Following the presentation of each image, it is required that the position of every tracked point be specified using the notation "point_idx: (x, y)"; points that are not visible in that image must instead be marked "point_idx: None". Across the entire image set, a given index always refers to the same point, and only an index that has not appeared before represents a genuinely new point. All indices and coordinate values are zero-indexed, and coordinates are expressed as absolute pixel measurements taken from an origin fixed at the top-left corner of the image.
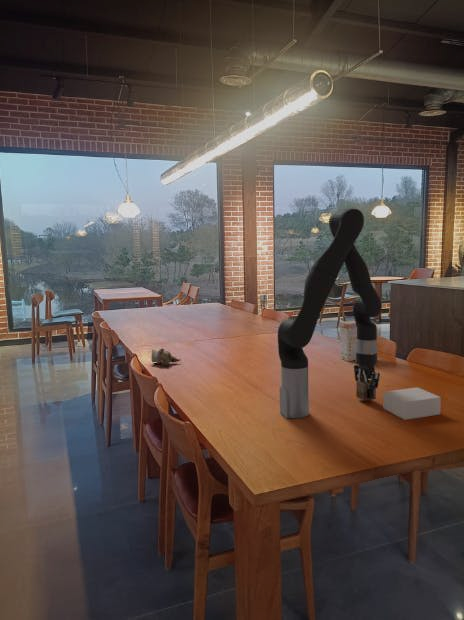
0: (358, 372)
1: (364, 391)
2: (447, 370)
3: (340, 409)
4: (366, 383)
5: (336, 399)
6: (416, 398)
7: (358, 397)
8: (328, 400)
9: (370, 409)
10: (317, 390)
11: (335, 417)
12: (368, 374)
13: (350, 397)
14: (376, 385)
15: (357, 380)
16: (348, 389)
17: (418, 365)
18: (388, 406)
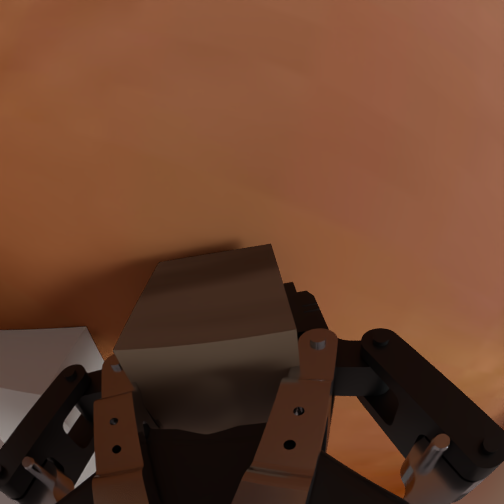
0: (409, 428)
1: (139, 309)
2: None
3: (90, 57)
4: (160, 389)
5: (317, 87)
6: (1, 432)
7: (236, 250)
8: (306, 24)
9: (66, 253)
10: (495, 79)
11: (5, 31)
12: (79, 487)
13: (335, 213)
14: (83, 418)
15: (359, 347)
16: (465, 263)
17: None
18: (41, 343)
